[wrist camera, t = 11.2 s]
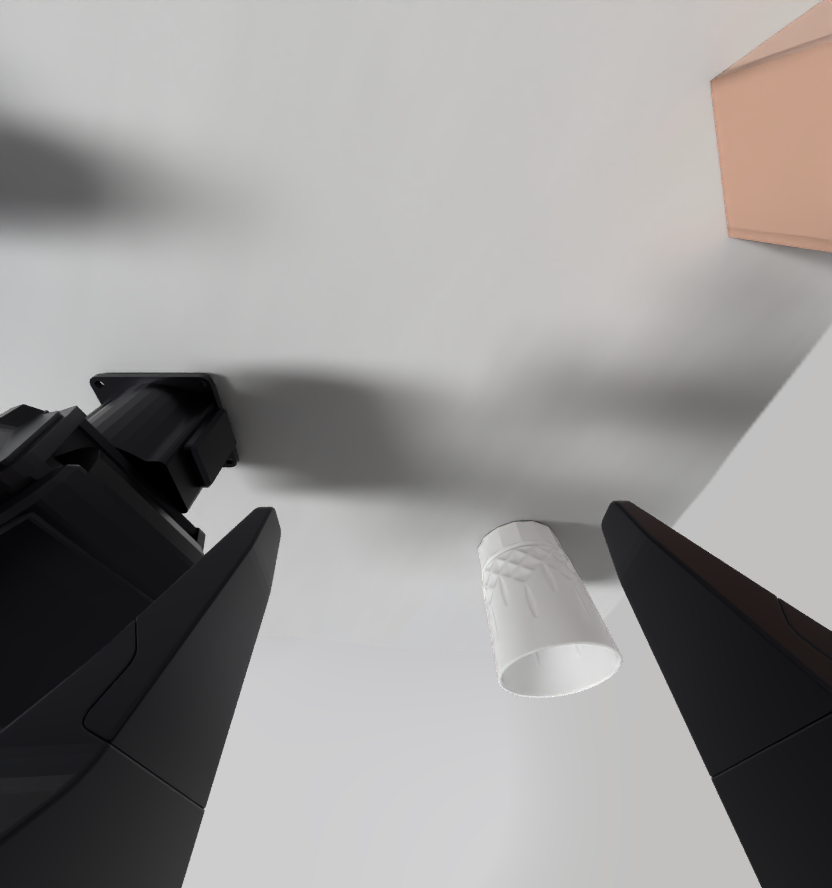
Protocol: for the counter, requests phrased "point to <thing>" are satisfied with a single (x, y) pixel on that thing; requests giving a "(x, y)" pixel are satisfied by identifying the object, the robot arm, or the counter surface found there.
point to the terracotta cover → (779, 136)
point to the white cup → (541, 615)
